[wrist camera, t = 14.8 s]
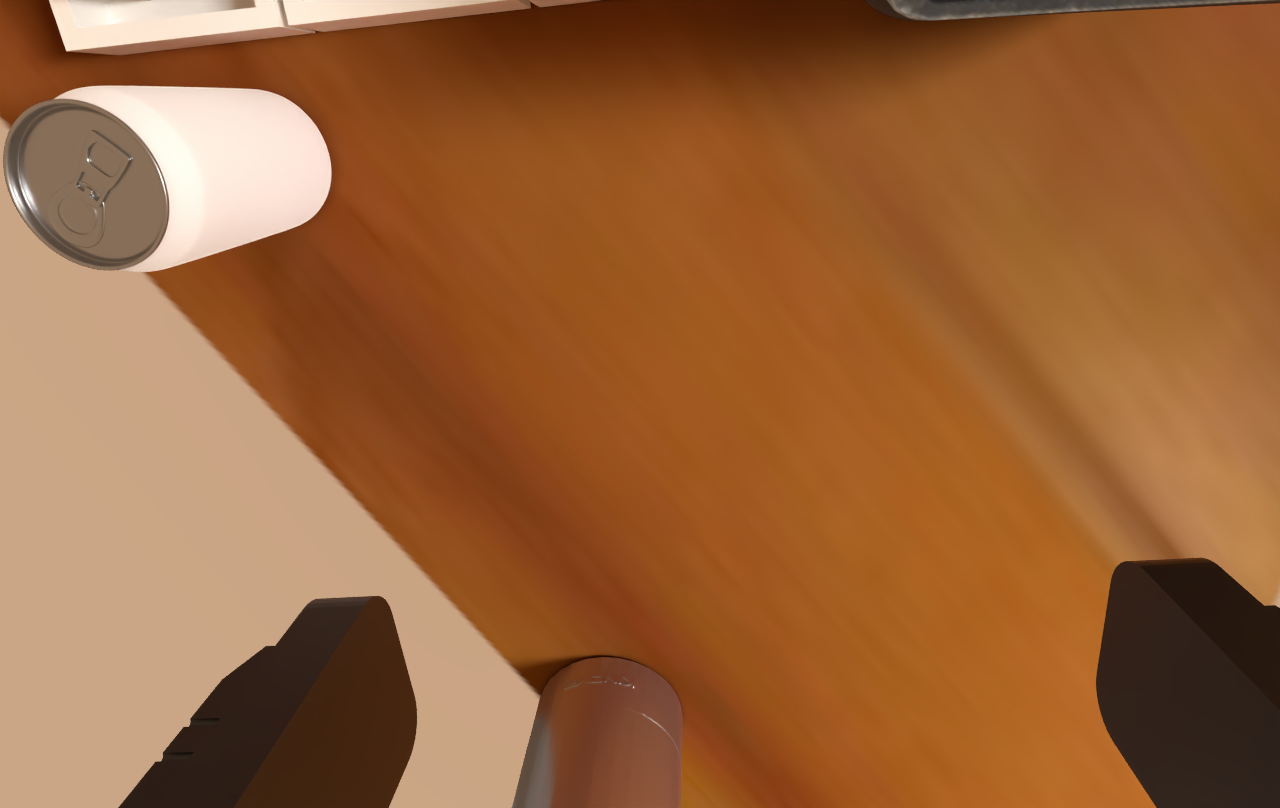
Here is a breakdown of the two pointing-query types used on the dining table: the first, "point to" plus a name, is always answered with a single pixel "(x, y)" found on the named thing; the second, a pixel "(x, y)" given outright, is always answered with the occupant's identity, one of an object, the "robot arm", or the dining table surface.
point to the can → (163, 172)
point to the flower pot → (1028, 7)
